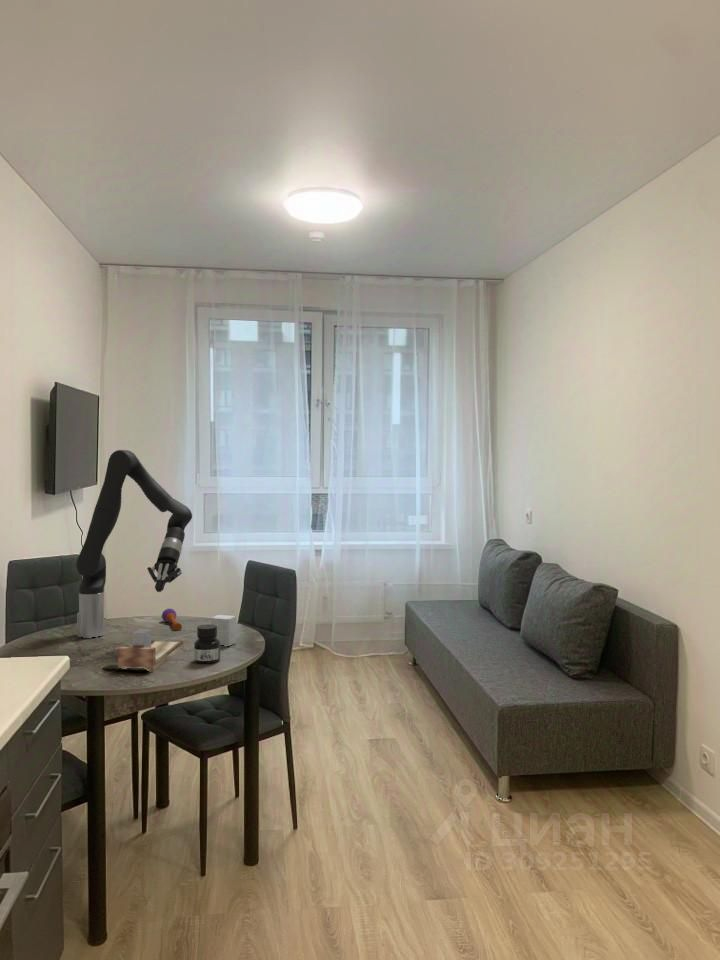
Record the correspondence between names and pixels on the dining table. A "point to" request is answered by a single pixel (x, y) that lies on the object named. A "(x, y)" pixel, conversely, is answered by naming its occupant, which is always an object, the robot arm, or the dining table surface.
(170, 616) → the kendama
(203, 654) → the ink bottle
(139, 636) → the block
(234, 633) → the small box
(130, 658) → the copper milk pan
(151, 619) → the dining table surface
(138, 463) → the robot arm
